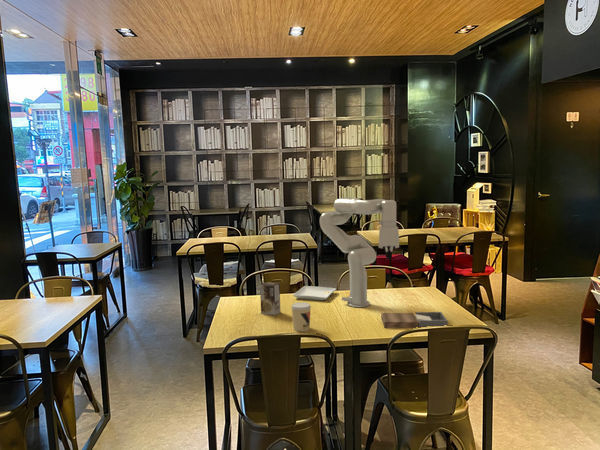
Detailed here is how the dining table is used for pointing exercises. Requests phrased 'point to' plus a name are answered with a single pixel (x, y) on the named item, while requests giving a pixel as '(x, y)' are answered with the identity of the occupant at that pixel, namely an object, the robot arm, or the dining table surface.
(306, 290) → the salad plate
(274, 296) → the coffee box
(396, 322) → the flat wooden board
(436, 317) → the tray
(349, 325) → the dining table surface
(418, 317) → the tile
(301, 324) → the coffee cup
